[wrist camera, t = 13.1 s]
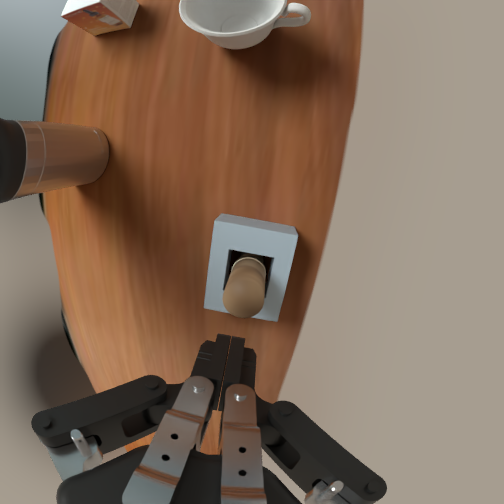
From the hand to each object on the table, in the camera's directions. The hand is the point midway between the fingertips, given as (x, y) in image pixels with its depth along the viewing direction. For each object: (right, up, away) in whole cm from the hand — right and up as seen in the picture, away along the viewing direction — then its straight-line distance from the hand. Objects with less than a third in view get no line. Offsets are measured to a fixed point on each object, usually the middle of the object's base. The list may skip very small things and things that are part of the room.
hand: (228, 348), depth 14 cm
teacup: (+1, +36, +14) cm, 38 cm away
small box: (-21, +44, +13) cm, 51 cm away
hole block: (+1, +4, +24) cm, 25 cm away
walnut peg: (+1, +4, +24) cm, 25 cm away
